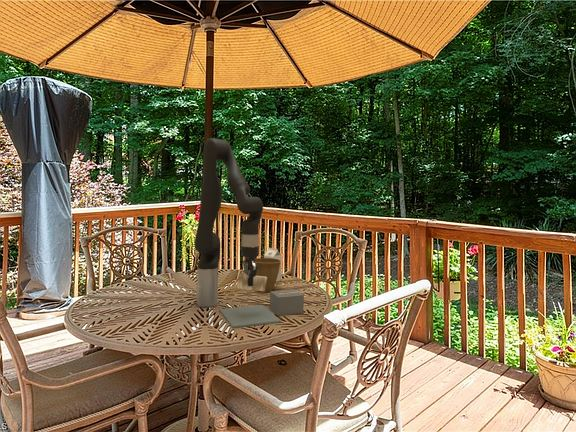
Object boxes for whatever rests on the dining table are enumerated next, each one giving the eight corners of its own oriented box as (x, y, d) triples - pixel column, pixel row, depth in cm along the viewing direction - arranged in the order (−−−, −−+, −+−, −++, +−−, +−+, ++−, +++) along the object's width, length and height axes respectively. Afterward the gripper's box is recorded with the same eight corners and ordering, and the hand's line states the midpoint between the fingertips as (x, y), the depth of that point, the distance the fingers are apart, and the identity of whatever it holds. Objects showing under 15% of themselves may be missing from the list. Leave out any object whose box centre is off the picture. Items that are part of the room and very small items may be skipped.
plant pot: (279, 294, 206) (280, 263, 205) (250, 293, 207) (250, 262, 205) (280, 286, 221) (281, 257, 220) (253, 285, 222) (253, 257, 220)
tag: (264, 291, 173) (237, 288, 168) (263, 290, 174) (236, 287, 169) (267, 277, 173) (240, 274, 168) (265, 276, 174) (239, 273, 169)
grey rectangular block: (277, 315, 174) (278, 296, 173) (269, 308, 183) (270, 290, 182) (303, 312, 178) (303, 293, 178) (294, 306, 188) (294, 287, 187)
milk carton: (271, 278, 238) (272, 246, 237) (280, 281, 234) (281, 248, 232) (263, 280, 233) (264, 248, 231) (272, 283, 228) (273, 249, 227)
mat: (232, 328, 158) (232, 326, 158) (219, 311, 178) (219, 309, 178) (280, 322, 166) (280, 320, 166) (262, 306, 186) (262, 304, 186)
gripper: (236, 242, 174) (236, 282, 175) (246, 247, 162) (246, 290, 163) (253, 241, 177) (253, 281, 178) (264, 246, 164) (263, 288, 166)
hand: (249, 285), depth 171 cm, fingers closed on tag, 1 cm apart
